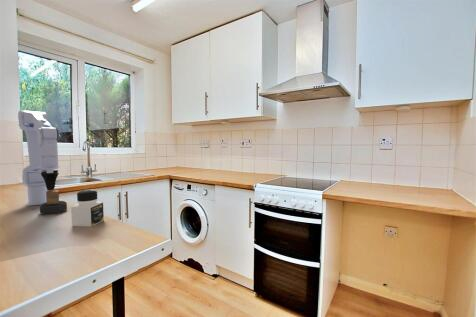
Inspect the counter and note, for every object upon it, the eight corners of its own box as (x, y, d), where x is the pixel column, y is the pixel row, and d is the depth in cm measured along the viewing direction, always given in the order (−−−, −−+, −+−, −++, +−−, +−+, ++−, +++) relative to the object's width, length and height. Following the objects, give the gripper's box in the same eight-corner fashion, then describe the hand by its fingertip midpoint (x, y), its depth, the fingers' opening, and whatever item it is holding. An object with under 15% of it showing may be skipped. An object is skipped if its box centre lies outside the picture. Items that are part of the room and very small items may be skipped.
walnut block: (46, 202, 98) (46, 191, 97) (58, 201, 100) (58, 190, 100) (46, 204, 95) (46, 192, 94) (59, 203, 97) (58, 191, 97)
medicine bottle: (91, 227, 80) (90, 192, 79) (71, 226, 80) (70, 192, 79) (104, 220, 87) (103, 188, 86) (85, 220, 87) (84, 188, 86)
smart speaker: (68, 212, 98) (68, 203, 97) (41, 217, 92) (40, 207, 91) (65, 208, 104) (65, 199, 104) (39, 212, 98) (38, 202, 98)
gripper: (37, 155, 99) (38, 187, 100) (35, 157, 88) (37, 192, 89) (57, 155, 104) (59, 185, 105) (59, 156, 93) (60, 190, 94)
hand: (50, 188), depth 97 cm, fingers open, 7 cm apart
